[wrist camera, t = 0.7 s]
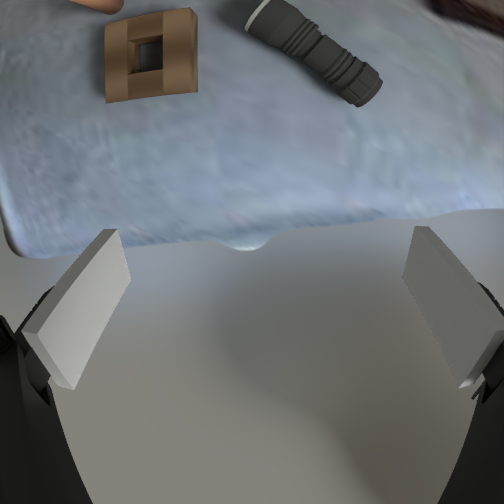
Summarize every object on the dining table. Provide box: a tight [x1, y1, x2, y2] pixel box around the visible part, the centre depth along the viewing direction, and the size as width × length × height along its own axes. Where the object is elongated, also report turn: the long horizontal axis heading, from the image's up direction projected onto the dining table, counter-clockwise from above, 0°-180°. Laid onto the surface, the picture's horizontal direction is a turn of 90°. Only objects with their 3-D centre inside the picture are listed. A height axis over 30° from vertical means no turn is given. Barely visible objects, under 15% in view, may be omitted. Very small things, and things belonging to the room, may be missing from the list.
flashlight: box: [245, 0, 383, 107], centre depth 26 cm, size 15×5×5 cm, turn 55°
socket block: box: [104, 7, 198, 103], centre depth 27 cm, size 10×10×4 cm
